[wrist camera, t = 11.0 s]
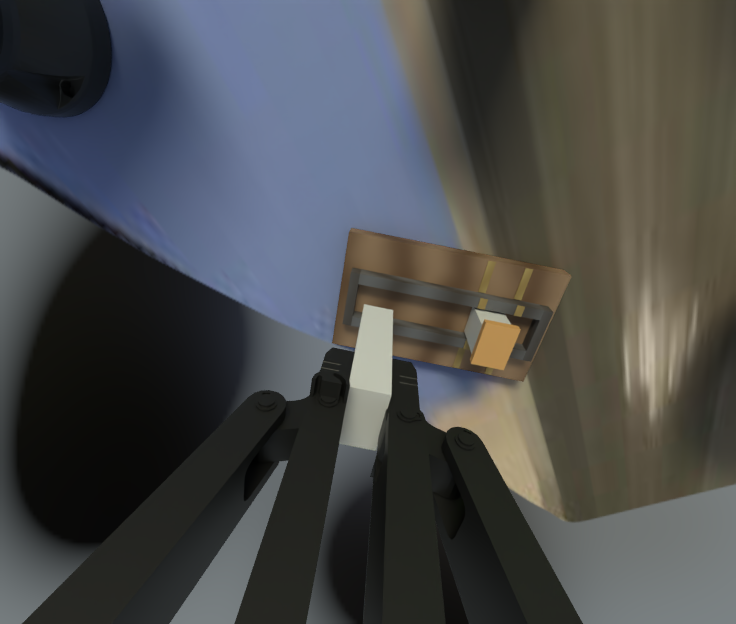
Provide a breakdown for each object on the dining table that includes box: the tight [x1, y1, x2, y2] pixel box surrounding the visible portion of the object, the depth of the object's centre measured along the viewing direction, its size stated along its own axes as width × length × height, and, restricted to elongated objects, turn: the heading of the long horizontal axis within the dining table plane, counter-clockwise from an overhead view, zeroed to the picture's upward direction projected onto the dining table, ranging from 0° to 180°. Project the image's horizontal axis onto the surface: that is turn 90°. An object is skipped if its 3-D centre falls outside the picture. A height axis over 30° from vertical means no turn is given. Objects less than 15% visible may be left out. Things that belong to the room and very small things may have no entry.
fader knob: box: [464, 307, 521, 370], centre depth 37 cm, size 3×5×6 cm
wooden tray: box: [332, 228, 571, 381], centre depth 40 cm, size 24×14×4 cm, turn 80°
